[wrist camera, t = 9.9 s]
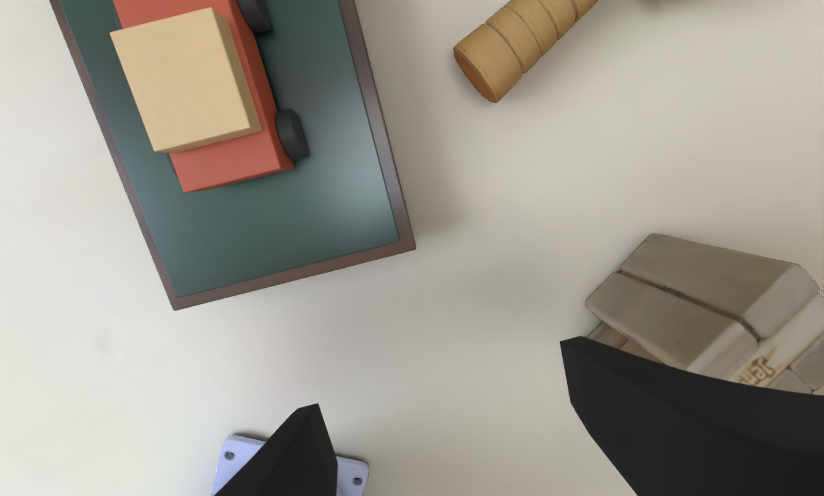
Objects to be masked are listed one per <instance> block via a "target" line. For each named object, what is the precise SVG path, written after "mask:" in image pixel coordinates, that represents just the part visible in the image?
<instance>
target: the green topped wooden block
mask: <svg viewBox="0 0 824 496" xmlns="http://www.w3.org/2000/svg"><path fill="white" fill-rule="evenodd" d="M49 1H50V4H51V6H52V9H53V11H54V14H55V16H56V19H57V21H58V24H59V26H60V29H61V31H62V34H63V36H64V39H65V41H66V44H67V46H68V49H69V51H70V54H71V56H72V59H73V61H74V64H75V66H76V69H77V71H78V73H79V76H80V78H81V81H82V83H83V86H84V88H85V91H86V93H87V96H88V98H89V101H90V103H91V106H92V108H93V111H94V113H95V116H96V118H97V121H98V123H99V126H100V128H101V131H102V133H103V136H104V138H105V141H106V143H107V146H108V148H109V151H110V153H111V156H112V158H113V161H114V163H115V166H116V168H117V171H118V173H119V176H120V178H121V181H122V183H123V186H124V188H125V191H126V193H127V196H128V198H129V201H130V203H131V206H132V208H133V211H134V213H135V216H136V218H137V221H138V223H139V226H140V228H141V231H142V233H143V236H144V238H145V241H146V243H147V246H148V248H149V251H150V253H151V256H152V258H153V261H154V263H155V266H156V268H157V271H158V273H159V276H160V278H161V281H162V283H163V286H164V288H165V291H166V293H167V296H168V298H169V301H170V303H171V306H172V308H173V310H174V311H176V310H180V309H184V308H188V307H192V306H196V305H200V304H204V303H208V302H212V301H216V300H220V299H223V298H227V297H231V296H235V295H239V294H243V293H247V292H251V291H255V290H259V289H263V288H267V287H271V286H275V285H279V284H282V283H286V282H290V281H294V280H298V279H302V278H306V277H310V276H314V275H318V274H322V273H326V272H330V271H334V270H338V269H342V268H345V267H349V266H353V265H357V264H361V263H365V262H369V261H373V260H377V259H381V258H385V257H389V256H393V255H397V254H401V253H404V252H408V251H412V250H415V249H416V245H415V241H414V237H413V233H412V229H411V225H410V221H409V217H408V213H407V209H406V205H405V201H404V197H403V193H402V189H401V185H400V181H399V177H398V173H397V169H396V165H395V161H394V157H393V153H392V149H391V145H390V141H389V137H388V133H387V129H386V125H385V121H384V117H383V113H382V109H381V105H380V101H379V97H378V93H377V89H376V85H375V81H374V77H373V73H372V69H371V65H370V61H369V57H368V53H367V49H366V45H365V41H364V37H363V33H362V29H361V25H360V21H359V17H358V13H357V9H356V5H355V1H354V0H265V3H266V6H267V9H268V13H269V17H270V22H271V28H270V29H269V30H266V31H262V32H258V33H254V32H253V33H254V36H255V40H256V43H257V46H258V50H259V53H260V56H261V59H262V63H263V66H264V69H265V72H266V76H267V79H268V82H269V86H270V89H271V92H272V95H273V99H274V102H275V105H276V109H277V112H279V111H283V110H287V109H293V110H294V112H295V113H296V115H297V117H298V119H299V121H300V123H301V126H302V129H303V132H304V135H305V139H306V143H307V149H308V154H307V157H304V158H300V159H296V160H292V161H293V164H294V169H291V170H287V171H283V172H279V173H275V174H271V175H267V176H263V177H259V178H255V179H251V180H247V181H243V182H239V183H235V184H231V185H227V186H224V187H220V188H216V189H212V190H205V191H197V192H190V193H184V192H183V189H182V187H181V184H180V181H179V180H178V178H177V177H176V176H175V174H174V173H173V171H172V169H171V167H170V165H169V163H168V160H167V156H166V152H155V151H154V149H153V147H152V144H151V142H150V139H149V136H148V134H147V131H146V128H145V126H144V123H143V120H142V118H141V115H140V112H139V110H138V107H137V104H136V102H135V99H134V96H133V94H132V91H131V88H130V86H129V83H128V80H127V78H126V75H125V73H124V70H123V67H122V65H121V62H120V59H119V57H118V54H117V51H116V49H115V46H114V43H113V41H112V38H111V35H110V32H113V31H117V30H119V28H118V26H117V23H116V20H115V17H114V6H115V5H114V3H113V0H49Z"/></svg>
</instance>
